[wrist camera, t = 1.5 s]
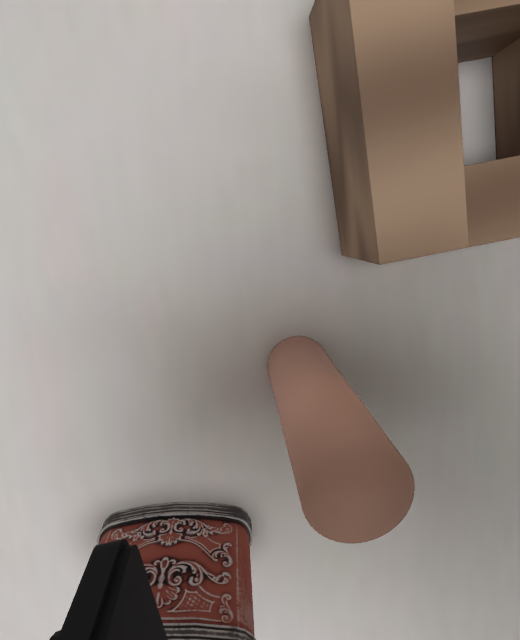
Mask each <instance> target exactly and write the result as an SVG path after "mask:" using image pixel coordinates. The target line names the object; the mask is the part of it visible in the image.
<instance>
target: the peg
mask: <svg viewBox="0 0 520 640" xmlns="http://www.w3.org/2000/svg"><path fill="white" fill-rule="evenodd" d="M268 372H269V376H270V380H271V384H272V389H273V393H274V397H275V401H276V405H277V409H278V413H279V417H280V421H281V425H282V429H283V433H284V437H285V441H286V445H287V449H288V453H289V457H290V461H291V465H292V469H293V473H294V477H295V481H296V485H297V489H298V493H299V497H300V501H301V505H302V509H303V513H304V515H305V517H306V519H307V521H308V522H309V524H310V525H311V526H312V527H313V528H314V529H315V530H316V531H317V532H318V533H320V534H321V535H323V536H324V537H326V538H328V539H331V540H334V541H337V542H342V543H361V542H367V541H370V540H374V539H376V538H379V537H381V536H383V535H385V534H386V533H388V532H389V531H391V530H392V529H393V528H394V527H396V526H397V525H398V524H399V523H400V522H401V521H402V519H403V518H404V517H405V515H406V514H407V512H408V510H409V509H410V506H411V504H412V501H413V497H414V478H413V474H412V472H411V469H410V467H409V465H408V464H407V462H406V461H405V460H404V458H403V457H402V456H401V454H400V453H399V452H398V450H397V449H396V448H395V446H394V445H393V444H392V442H391V441H390V439H389V438H388V437H387V435H386V434H385V433H384V431H383V430H382V429H381V427H380V426H379V425H378V423H377V422H376V421H375V419H374V418H373V416H372V415H371V414H370V412H369V411H368V410H367V408H366V407H365V406H364V404H363V403H362V402H361V400H360V399H359V398H358V396H357V395H356V393H355V392H354V391H353V389H352V388H351V387H350V385H349V384H348V383H347V381H346V380H345V379H344V377H343V376H342V375H341V373H340V372H339V370H338V369H337V368H336V366H335V365H334V364H333V362H332V361H331V360H330V358H329V357H328V356H327V354H326V353H325V352H324V350H323V349H322V347H321V346H320V345H319V344H318V343H317V342H315V341H314V340H312V339H310V338H307V337H303V336H294V337H290V338H287V339H284V340H283V341H281V342H280V343H278V344H277V345H276V346H275V347H274V349H273V350H272V352H271V353H270V356H269V359H268Z"/></svg>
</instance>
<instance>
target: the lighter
mask: <svg viewBox="0 0 520 640" xmlns="http://www.w3.org/2000/svg"><path fill="white" fill-rule="evenodd" d="M121 539H126V540H127V541H128V543H129V545H137V546H138V549H139V552H140V555H141V558H142V561H143V564H144V567H145V570H146V573H147V576H148V579H149V583H150V586H151V589H152V592H153V595H154V598H155V601H156V604H157V607H158V610H159V614H160V617H161V620H162V623H163V626H164V629H165V632H166V635H167V638H168V640H256V639H255V637H254V619H253V601H252V583H251V564H250V546H251V542H252V525H251V520H250V517H249V516H248V514H247V513H246V512H245V511H244V510H243V509H241V508H239V507H236V506H229V505H221V504H212V503H186V502H175V503H166V504H156V505H147V506H142V507H137V508H133V509H128V510H123V511H119V512H116V513H114V514H111V515H110V516H109V517H108V518H107V519H106V521H105V523H104V525H103V527H102V530H101V532H100V534H99V537H98V543H97V545H99V544H103V543H108V542H112V541H117V540H121Z"/></svg>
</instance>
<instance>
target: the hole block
mask: <svg viewBox="0 0 520 640" xmlns="http://www.w3.org/2000/svg"><path fill="white" fill-rule="evenodd" d="M309 18H310V26H311V33H312V40H313V48H314V55H315V62H316V69H317V77H318V84H319V91H320V99H321V106H322V113H323V120H324V128H325V135H326V142H327V150H328V157H329V164H330V172H331V179H332V186H333V193H334V201H335V208H336V215H337V223H338V230H339V237H340V244H341V252H342V255H344V256H348V257H352V258H356V259H360V260H363V261H367V262H371V263H375V264H379V265H381V264H386V263H391V262H396V261H401V260H406V259H411V258H416V257H421V256H426V255H431V254H436V253H442V252H447V251H452V250H457V249H462V248H467V247H472V246H477V245H482V244H487V243H492V242H497V241H502V240H507V239H512V238H517V237H520V0H315V2H314V5H313V8H312V10H311V13H310V16H309ZM491 56H492V57H493V81H494V104H495V128H496V152H497V160H494V161H488V162H483V163H478V164H473V165H468V166H464V159H463V143H462V127H461V110H460V94H459V77H458V63H459V62H464V61H470V60H475V59H480V58H486V57H491Z"/></svg>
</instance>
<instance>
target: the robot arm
mask: <svg viewBox="0 0 520 640" xmlns="http://www.w3.org/2000/svg"><path fill="white" fill-rule="evenodd" d="M50 640H168V638H167V635H166V632H165V629H164V626H163V623H162V620H161V617H160V614H159V610H158V607H157V604H156V601H155V598H154V595H153V592H152V589H151V586H150V583H149V579H148V576H147V573H146V570H145V567H144V564H143V561H142V558H141V555H140V552H139V549H138V546H137V545H129V543H128V541H127V540H126V539H121V540H117V541H112V542H108V543H103V544H99V545H97V546H95V548H94V549H93V551H92V554H91V556H90V559H89V561H88V564H87V566H86V569H85V571H84V574H83V576H82V579H81V581H80V584H79V587H78V589H77V592H76V594H75V597H74V599H73V602H72V604H71V607H70V609H69V612H68V614H67V617H66V619H65V622H64V624H63V627H62V629H61V630H60V631H57V632H55V634H54V635H53V636H52V637H51V638H50Z"/></svg>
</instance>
